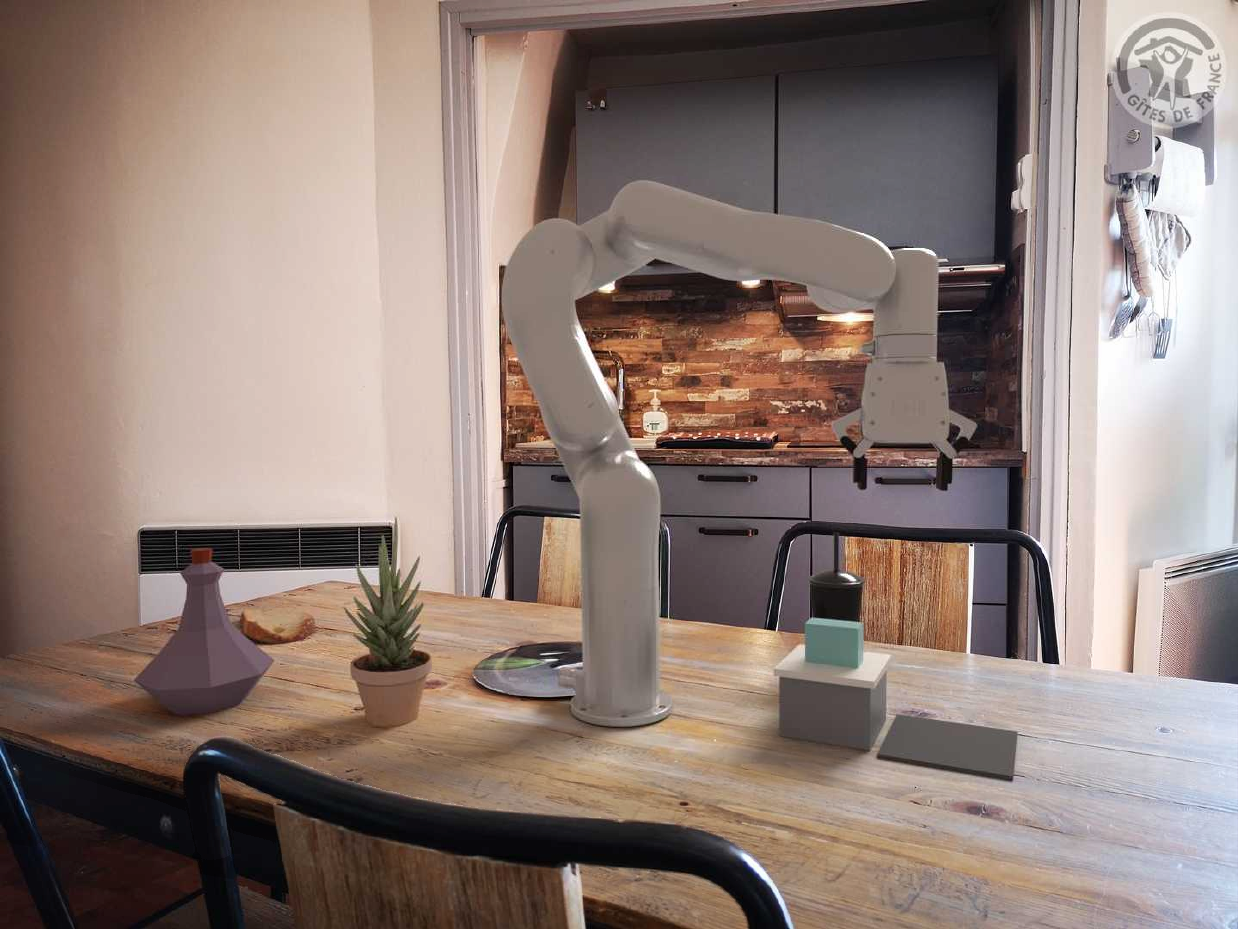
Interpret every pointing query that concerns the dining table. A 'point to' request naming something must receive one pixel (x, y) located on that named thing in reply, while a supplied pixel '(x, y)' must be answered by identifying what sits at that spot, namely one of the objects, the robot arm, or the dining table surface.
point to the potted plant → (389, 647)
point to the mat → (951, 746)
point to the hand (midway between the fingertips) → (901, 489)
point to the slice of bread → (276, 625)
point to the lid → (834, 656)
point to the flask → (204, 651)
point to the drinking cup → (836, 592)
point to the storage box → (831, 712)
